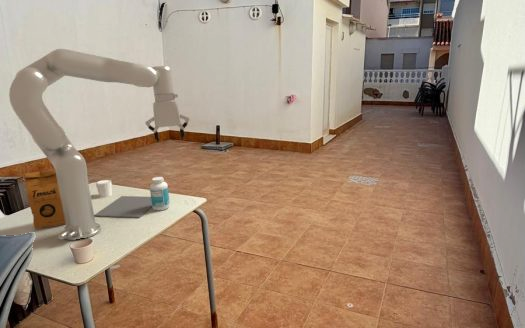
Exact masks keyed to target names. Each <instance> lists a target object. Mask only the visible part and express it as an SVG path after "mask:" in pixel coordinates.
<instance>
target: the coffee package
mask: <svg viewBox="0 0 525 328" xmlns="http://www.w3.org/2000/svg"><path fill="white" fill-rule="evenodd" d="M23 178H24V183H25V188H26V192H27V193H26V194H27V195H26V196H27V199H28V203H29V207H30V211H31V215H32V216H33V222H32V223H33V227H34V229H36V230H37V229H42V228H43V229H44V228H49V227H57V226H62V225H66V223H65V218H64V213H63V208H62V203H61V198H60V194H59V188H58V183H57V176H56V171H55V169H52V170H51V169H48V170H41V171H40V170H39V171H35V172H27V173H26V172H25V173H23Z"/></svg>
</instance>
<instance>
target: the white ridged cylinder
mask: <svg viewBox="0 0 525 328" xmlns="http://www.w3.org/2000/svg"><path fill="white" fill-rule="evenodd" d="M112 184H113V183H112V180H111V179H102V180H98V181H96V182H95V185H96V189H97V192H98V197H99V198H109V197H111V196H113V190H112V189H113V188H112V187H113V185H112Z"/></svg>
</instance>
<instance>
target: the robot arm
mask: <svg viewBox="0 0 525 328" xmlns="http://www.w3.org/2000/svg"><path fill="white" fill-rule="evenodd" d="M63 77H72V78H78V79H83V80H84V79H85V80H90V81H95V82H103V83H118V84H126V85H133V86H136V87H139V88H152V89H153V96H154V102H153V103H152V106H153V117H151V118H149V119H148V120H146V121H145V125H146V126H147V127H148V129H149V130H150V131H152V132H153V134H154V140H155V141H156V142H157V143H160V137H159V136H160V135H159V131H158V130H159V129H160V128H168V127H176V126H177V127H178V128H180V129H179V135H180V139H181V140H183V139H184V137H185V128H186V127H188V123H189V121H190V117H188V116H186V115H183V114H181V113H180V109H179V105H178V101H177V100H175V99H176V98H179V96H178V93H174V86H173V78H172V71H171V67H170V66H169V65H156V66H152V67H151V66H148V65H143V64H139V63H135V62H129V61H123V60H119V59H113V58H109V57H107V56H106V57H105V56H101V55H100V56H99V55H95V54H90V53H85V52H80V51H77V50H76V51H75V50H71V49H65V48H57V49H55V50H52V51H50V52H49V53H47V54H46V55H44V56H43V57H41V58H39V59H37V60H36V61H34V62H32V63H31V64H30V63H29V65H27V66H25V67H23V68H21V69H20V70H18V71H17V72H16V75H15V77H14V79H13V80H12V81H11V84H10V87H9V94H8V96H9V103H10V106H11V108H12V110H13V111H14V113H15V115H16V117H18V119H19V120H20V121H21V123H22V125H23V126H24V127H25V129H26V130H27V131H28V133H29V134H30V136H31V138H32V140H33V141H34V143H35V144H36V146H38V148H39V149H40V150H41V152H42V153H43V154H44V156H45V157H46V158H47V160H48V161H49V162H50V163H51V165H52V167H53V169H54V170H55V171H56V176H57V183H58V188H59V194H60V198H61V203H62V208H63V213H64V218H65V223H66V224H65V226H64V230H63V232H61V233H60V234H58V239H59V240H64V239H65V240H68V241H77V240H76V239H80V238H85V239H88V238H90V237H93V236H95V235H97V234H98V233H99V232H100V231H101V230H102V229H101V228H102V227H101V225H100V223H97V222H96V219H95V218H96V217H94V215H95V213H94V208H93V202H92V195H91V190H90V183H89V179H88V178H89V177H88V167H87V163H86V159H85V157H84V156H83V155H82V153H80V152H79V151H78V150H77V148H76V147H75V146H74V145H73V144H72V141H71V140H70V139H69V138H68V136H67V135H66V132H65V131H64V129H63V128H62V126H60V124H59V123H58V122H57V120H56V119H55V118H54V116H53V115H52V113H51V112H50V111H49V109H48V108H47V106H46V105H45V103H44V101H43V93H44V92H45V91H46V90H47V88H48V87H49V86H51V85H53V84H54V83H56V82H58V81H59V80H61V79H62V78H63ZM181 119H182V120H184V123H182V124H181ZM153 121H154V122H153ZM152 122H153V123H154V126H152V125H151V123H152ZM87 237H88V238H87ZM80 240H81V239H80Z"/></svg>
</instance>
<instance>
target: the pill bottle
mask: <svg viewBox="0 0 525 328" xmlns="http://www.w3.org/2000/svg"><path fill="white" fill-rule="evenodd" d="M151 182H152V183H151V184H150V185H149V191H150V192H149V193H150V197H151V201H152V207H151V209H153V210H154V211H159V212H160V211H164V210H167V209H169V208H170V206H171V203H170V202H171V201H170V194H169V193H170V192H169V187H168V186H169V185H168V182H166V181H165V179H164V177H163V176H156V177H152V179H151Z"/></svg>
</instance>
